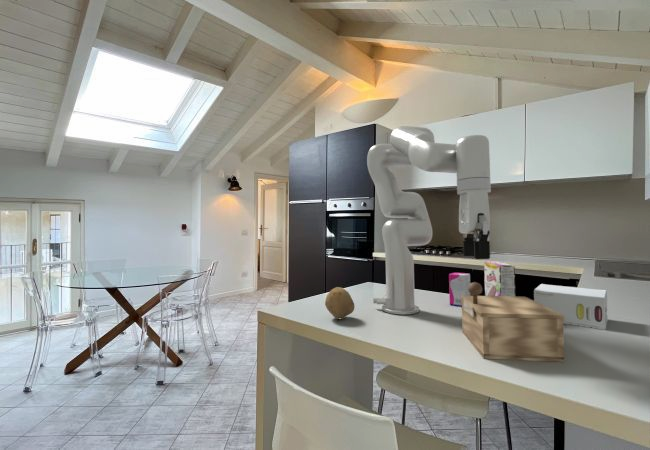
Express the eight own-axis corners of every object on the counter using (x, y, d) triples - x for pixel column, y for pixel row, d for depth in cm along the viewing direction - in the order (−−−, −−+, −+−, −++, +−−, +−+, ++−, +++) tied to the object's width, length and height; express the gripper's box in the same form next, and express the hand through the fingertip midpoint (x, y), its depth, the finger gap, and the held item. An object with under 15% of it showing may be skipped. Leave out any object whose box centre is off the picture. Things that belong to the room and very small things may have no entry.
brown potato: (320, 316, 107) (320, 286, 107) (345, 313, 111) (344, 283, 111) (332, 324, 99) (331, 290, 99) (358, 320, 102) (357, 288, 102)
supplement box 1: (471, 304, 120) (470, 273, 120) (465, 307, 116) (464, 275, 116) (455, 302, 124) (454, 271, 124) (449, 305, 120) (448, 273, 120)
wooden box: (483, 358, 72) (482, 317, 72) (462, 332, 89) (461, 299, 89) (564, 361, 69) (563, 319, 69) (526, 334, 87) (525, 300, 87)
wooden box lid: (479, 324, 72) (478, 289, 72) (458, 304, 90) (458, 276, 90) (564, 326, 69) (563, 290, 69) (525, 305, 87) (524, 277, 87)
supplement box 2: (533, 319, 101) (532, 289, 101) (541, 311, 110) (540, 283, 110) (606, 330, 89) (605, 296, 89) (607, 320, 99) (607, 289, 99)
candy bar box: (484, 308, 114) (483, 261, 114) (498, 308, 114) (497, 261, 114) (500, 317, 103) (499, 265, 103) (516, 317, 103) (515, 264, 103)
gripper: (449, 192, 90) (451, 255, 89) (466, 183, 73) (469, 260, 72) (478, 191, 88) (481, 254, 88) (503, 181, 71) (506, 260, 71)
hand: (475, 257), depth 80 cm, fingers open, 9 cm apart
